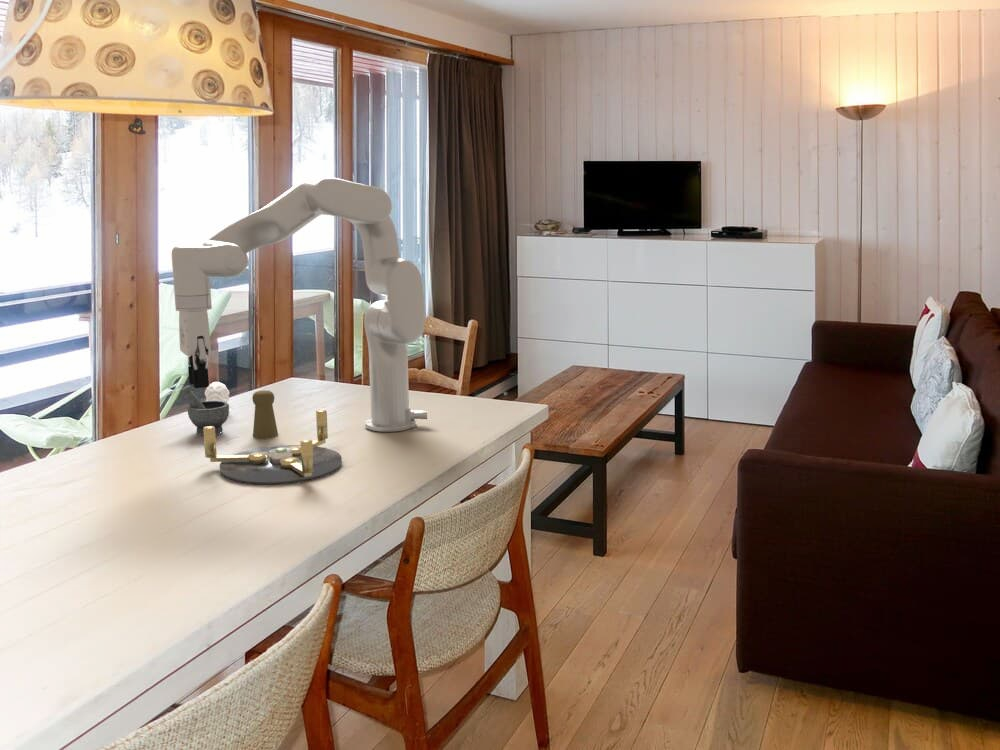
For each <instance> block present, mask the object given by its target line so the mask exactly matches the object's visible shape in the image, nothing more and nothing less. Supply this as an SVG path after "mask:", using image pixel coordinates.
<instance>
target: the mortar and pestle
mask: <svg viewBox="0 0 1000 750" xmlns="http://www.w3.org/2000/svg"><path fill="white" fill-rule="evenodd" d="M179 392H180V394H181V395H183V397H184V398H185V399H186V400H185V401H187V403H188V405H187V406H186V408H187V409H186V410H187V415H188V418H189V420H190V422H191V423H192V424H193V426H195V427H196V434H197V433H198V434H201V435H200V436H203V435H204V432H203V428H204V427H207V426H214V427H215V434H216V435H219V434H218V433H220V432H222V431H224V430H223V425H224V423H226V421H227V420H228V417H229V414H230V404H229V403H228V402H223V401H206V400H203V401H201V400H200V399H199V397H198V396H197V395H196V394H195V392H194V391H193V390H192V386H191V385H189V384H188V385H186V386H184V387H182V388H181V389H180V391H179ZM222 433H223V432H222ZM198 434H197V435H198ZM220 434H221V433H220Z"/></svg>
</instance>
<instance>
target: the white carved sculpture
mask: <svg viewBox="0 0 1000 750" xmlns="http://www.w3.org/2000/svg"><path fill="white" fill-rule="evenodd" d="M204 396H205V401H223V402H227V403H228V401H229V400H230V390H229V389H228V388H227V386H226V384H224V383H222V382H220V381H213V382H212V383H209V387H206V388H205V391H204Z"/></svg>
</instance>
